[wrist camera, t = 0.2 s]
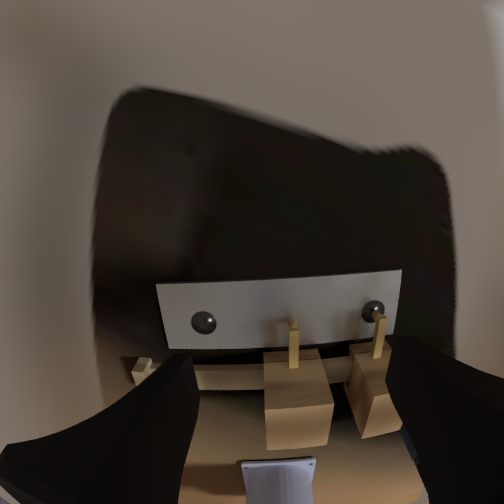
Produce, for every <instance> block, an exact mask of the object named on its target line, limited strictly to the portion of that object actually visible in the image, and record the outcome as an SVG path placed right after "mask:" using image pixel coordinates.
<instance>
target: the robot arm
mask: <svg viewBox="0 0 504 504" xmlns="http://www.w3.org/2000/svg"><path fill="white" fill-rule="evenodd" d="M385 383H386V386H387V389H388V392H389V395H390V398H391V400H392V403H393V405H394V407H395V409H396V411H397V413H398V415H399V417H400V419H401V421H402V423H403V425H404V427H405V429H406V431H407V433H408V435H409V437H410V439H411V441H412V443H413V445H414V447H415V450H416V452H417V455H418V458H419V461H420V465H421V468H422V471H423V475H424V479H425V483H426V487H427V492H428V497H429V503H430V504H504V378H500V377H497V376H494V375H491V374H488V373H486V372H483V371H480V370H478V369H475V368H473V367H471V366H469V365H466V364H464V363H462V362H460V361H458V360H456V359H454V358H452V357H450V356H448V355H446V354H445V353H443V352H441V351H439V350H437V349H435V348H433V347H431V346H430V345H428V344H426V343H424V342H422V341H420V340H418V339H416V338H414V337H412V336H409V335H406V336H400V337H395V338H394V341H393V346H392V351H391V355H390V360H389V365H388V369H387V373H386V377H385ZM199 402H200V392H199V388H198V383H197V379H196V375H195V370H194V365H193V361H192V356H191V353H174V354H172V355H171V356H170V357H169V358H168V359H167V360H166V361H165V362H163V363H162V364H161V365H160V366H159V367H158V368H157V369H156V370H155V371H154V372H152V373H151V374H150V375H149V376H148V377H147V378H146V379H144V380H143V381H142V382H141V383H140V384H139V385H137V386H136V387H135V388H134V389H132V390H131V391H130V392H128V393H127V394H126V395H125V396H123V397H122V398H121V399H119V400H118V401H117V402H115V403H114V404H112V405H111V406H109V407H108V408H106V409H104V410H103V411H101V412H99V413H98V414H96V415H94V416H93V417H91V418H89V419H87V420H85V421H82V422H80V423H78V424H76V425H74V426H72V427H70V428H68V429H65V430H62V431H60V432H57V433H55V434H51V435H48V436H45V437H41V438H38V439H34V440H29V441H24V442H19V443H13V444H7V445H6V447H5V448H4V450H3V451H2V452H1V454H0V485H1V486H2V487H3V488H4V489H5V490H6V491H7V492H8V493H9V494H10V495H11V496H12V497H14V498H15V499H16V500H17V501H18V502H19V503H20V504H178V497H179V490H180V483H181V477H182V472H183V468H184V464H185V460H186V457H187V453H188V450H189V446H190V443H191V439H192V436H193V432H194V429H195V425H196V421H197V417H198V410H199ZM315 464H316V459H315V458H313V457H311V458H302V459H291V460H276V461H245V462H242V463H241V468H242V473H243V478H244V483H245V488H246V492H247V495H246V504H314V502H313V494H312V487H311V483H312V478H313V474H314V469H315ZM0 504H9V503H8V502H7V501H5V500H4V499H3V498H1V497H0Z"/></svg>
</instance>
